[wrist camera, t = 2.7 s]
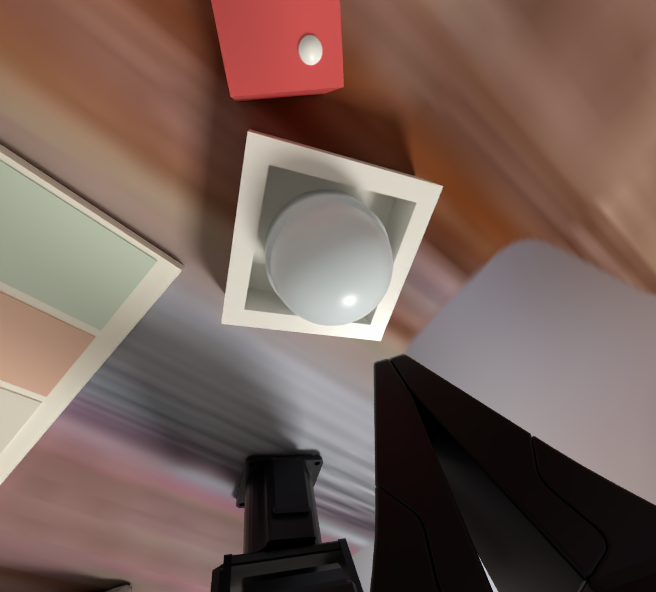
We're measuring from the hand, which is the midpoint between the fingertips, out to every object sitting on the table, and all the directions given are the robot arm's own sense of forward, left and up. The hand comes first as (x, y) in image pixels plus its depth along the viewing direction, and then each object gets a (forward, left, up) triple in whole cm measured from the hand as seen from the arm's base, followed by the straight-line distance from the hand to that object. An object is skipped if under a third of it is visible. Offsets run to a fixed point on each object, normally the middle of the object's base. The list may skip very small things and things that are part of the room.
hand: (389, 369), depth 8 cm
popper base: (0, 0, -11) cm, 11 cm away
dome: (0, 0, -10) cm, 10 cm away
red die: (+8, +4, -11) cm, 14 cm away
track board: (-11, +17, -11) cm, 23 cm away
